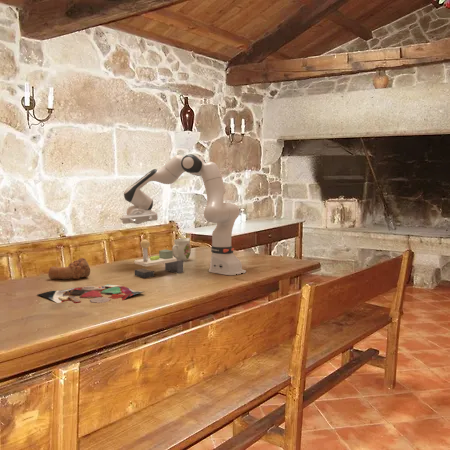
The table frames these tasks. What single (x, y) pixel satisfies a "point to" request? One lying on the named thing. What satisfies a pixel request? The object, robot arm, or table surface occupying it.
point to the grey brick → (171, 266)
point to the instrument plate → (154, 262)
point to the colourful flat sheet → (90, 293)
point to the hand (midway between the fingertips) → (142, 220)
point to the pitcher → (182, 249)
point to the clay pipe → (71, 270)
